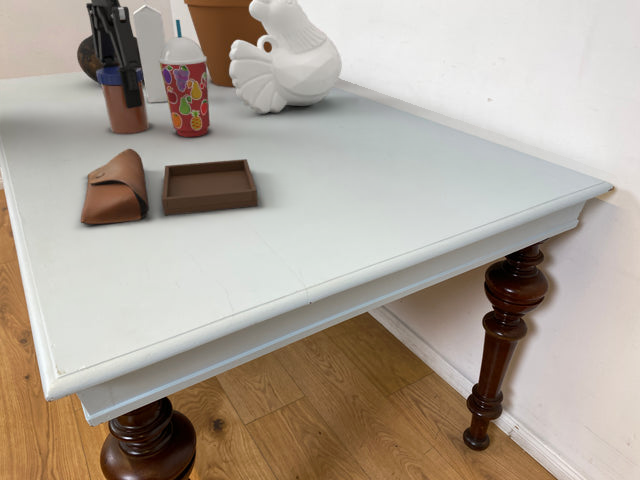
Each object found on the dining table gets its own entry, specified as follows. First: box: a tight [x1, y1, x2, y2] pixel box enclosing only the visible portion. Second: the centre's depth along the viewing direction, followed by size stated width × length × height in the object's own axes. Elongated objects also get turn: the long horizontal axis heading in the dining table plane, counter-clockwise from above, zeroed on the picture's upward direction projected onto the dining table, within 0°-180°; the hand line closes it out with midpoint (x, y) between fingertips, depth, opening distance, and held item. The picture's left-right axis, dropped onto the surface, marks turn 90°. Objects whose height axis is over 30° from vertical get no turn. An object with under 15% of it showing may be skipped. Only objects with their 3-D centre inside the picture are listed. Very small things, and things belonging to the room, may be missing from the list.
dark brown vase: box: [76, 0, 143, 84], centre depth 125 cm, size 18×18×28 cm
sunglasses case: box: [80, 148, 150, 225], centre depth 67 cm, size 18×7×7 cm
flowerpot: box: [183, 0, 272, 88], centre depth 129 cm, size 28×28×24 cm
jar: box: [100, 81, 150, 135], centre depth 93 cm, size 7×7×11 cm
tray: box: [161, 158, 259, 216], centre depth 68 cm, size 12×12×2 cm
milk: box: [132, 0, 168, 104], centre depth 110 cm, size 6×6×22 cm
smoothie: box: [159, 19, 211, 138], centre depth 88 cm, size 8×8×20 cm
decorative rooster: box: [229, 0, 343, 115], centre depth 105 cm, size 25×16×25 cm
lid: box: [96, 66, 144, 85], centre depth 90 cm, size 8×8×2 cm
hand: (125, 102), depth 93 cm, fingers closed on lid, 8 cm apart
